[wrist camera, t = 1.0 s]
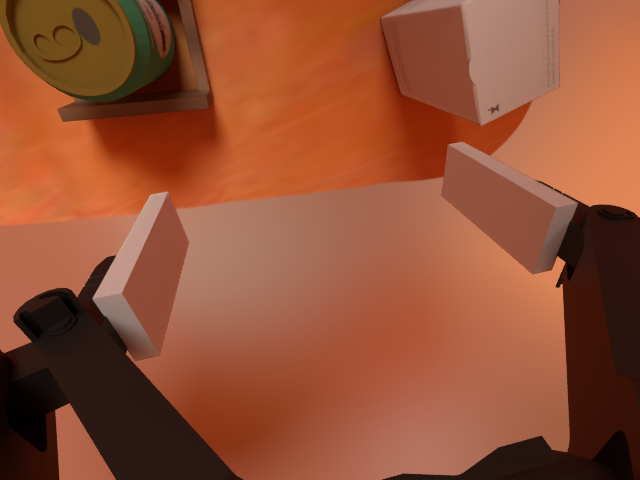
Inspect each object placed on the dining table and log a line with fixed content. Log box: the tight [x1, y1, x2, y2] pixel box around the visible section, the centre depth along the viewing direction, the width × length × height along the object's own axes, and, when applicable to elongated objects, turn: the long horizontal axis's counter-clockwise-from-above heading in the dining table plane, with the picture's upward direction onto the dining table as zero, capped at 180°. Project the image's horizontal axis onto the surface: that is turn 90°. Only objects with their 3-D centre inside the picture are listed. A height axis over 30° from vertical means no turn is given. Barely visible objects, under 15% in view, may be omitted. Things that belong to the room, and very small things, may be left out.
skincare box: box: [380, 0, 560, 127], centre depth 28 cm, size 8×7×16 cm
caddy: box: [57, 0, 213, 122], centre depth 27 cm, size 12×12×5 cm
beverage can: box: [0, 0, 175, 102], centre depth 24 cm, size 8×8×12 cm
